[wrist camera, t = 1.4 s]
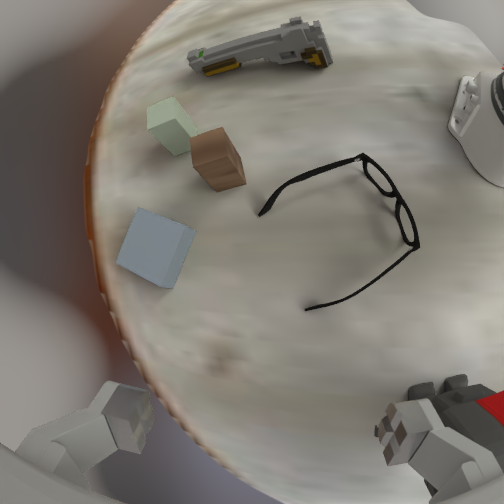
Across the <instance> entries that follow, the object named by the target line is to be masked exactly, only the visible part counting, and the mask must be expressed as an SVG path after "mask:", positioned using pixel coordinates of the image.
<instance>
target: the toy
mask: <svg viewBox="0 0 504 504" xmlns="http://www.w3.org/2000/svg"><path fill="white" fill-rule="evenodd" d="M313 23H314V25H313V26H309V24H308V22H306V23H303V21H302V19H301V17H295V18H291V19H290V23H287V24H282V25H281V28H277V29H273V30H269V31H265V32H261V33H257V34H254V35H250V36H246V37H243V38H240V39H236V40H233V41H230V42H227V43H224V44H221V45H218V46H215V47H212V48H209V49H206V48H205V47H204V48H201V49H199V50H197V49H196V50H193V51H190V52H189V53H188V56H187V59H188V60H189V61H190V62H189V65H190V66H191V67H192V69H193V70H194V71H195V72H196V73H198V72H202V73H203V74H205V75H206V76H211V75H214V74H217V73H221V72H225V71H228V70H232V69H235V68H239V67H241V64H242V62H246V61H250V60H254V59H260V58H264V59H265V60H271V62H278V64H279V65H280V64H285V63H291V62H296V61H302V60H304V61H305V63H310V65H311V66H314V65H316V66H317V68H324V67H328V63H333V60H332V55H331V52H330V49H329V46H328V44H327V41H326V38H325V35H324V33H323V32H322V27H321V25H320V22H319V20H318V21H313Z"/></svg>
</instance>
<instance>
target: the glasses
mask: <svg viewBox="0 0 504 504" xmlns="http://www.w3.org/2000/svg"><path fill="white" fill-rule="evenodd" d="M361 160H362V161H363V170H364V173H365V175H366V176H367V178H368V179H369V180H370V181H371V182H372V183H373V184H374V185H375V186H376V187H377V188H378V189H379V190H380V192H381V193H382V194H383V195H385V196H387V197H390V198H393V197H396V198H397V200H396V205H395V214H396V218H397V221H398V223H399V226H400V229H401V232H402V236H403V239H404V241H405V243H406V244H407V245H409V246H411V248H410V249H409V250H408V252H406V253H405V254H404V255H403V256H402V257H401V258H400V259H398V260H397V261H396V262H395V263H394V264H392V265H391V266H390V267H389V268H387V269H386V270H385V271H384V272H382V273H381V274H380V275H379V276H377V277H376V278H375V279H374V280H372V281H371V282H369V283H368V284H367V285H365V286H364V287H362V288H361V289H359V290H358V291H356V292H354V293H353V294H351V295H349V296H347V297H345V298H343V299H340V300H337V301H334V302H330V303H326V304H321V305H316V306H313V307H309V308H306V309H305V311H308V310H312V309H317V308H322V307H327V306H331V305H334V304H337V303H340V302H343V301H345V300H347V299H349V298H351V297H353V296H355V295H357V294H358V293H360V292H361V291H363V290H364V289H366V288H367V287H369V286H370V285H372V284H373V283H374V282H376V281H377V280H379V279H380V278H381V277H382V276H384V275H385V274H386V273H387V272H389V271H390V270H391V269H393V268H394V267H395V266H396V265H398V264H399V263H400V262H401V261H402V260H404V259H405V258H406V257H407V256H408V255H409V254H410V253H411V252H413V251H415V250H417V249H419V248H420V242H419V236H418V232H417V228H416V224H415V221H414V219H413V216H412V214H411V211H410V210H409V208H408V206H407V204H406V203H405V201H404V200H403V198H402V196H401V195H400V193H399V192H398V190H397V188H396V186H395V185H394V183H393V181H392V180H391V178H390V177H389V176H388V174H387V173H386V172H385V171H384V170H383V169H382V168H381V167H380V166H379V165H378V164H377V163H376V162H375V161H374V160H372V159H371V158H370V157H369V156H367V155H366V154H364V153H361V154H359V155H357V156H356V157H353V158H349V159H345V160H341V161H338V162H334V163H331V164H328V165H325V166H322V167H318V168H316V169H313V170H310V171H308V172H305V173H303V174H301V175H298V176H296V177H294V178H292V179H290V180H289V181H287V182H286V183H284V184H283V185H282V186H280V187H279V188H278V189H277V190H276V191H275V192H274V193H273V194H272V195H271V197H270V198H269V199H268V201H267V202H266V204H265V205H264V207H263V208H262V210H261V211H260V212H259V214H258V216H259V217H260V216H262V215H263V214H265V213H266V212H267V211H269V210H270V209H271V207H272V205H273V204H274V202H275V200H276V198H277V197H278V195H279V194H280V193H281V191H282V190H283V189H284V188H285V187H287V186H288V185H290V184H293V183H296V182H299V181H303V180H305V179H307V178H310V177H312V176H315V175H317V174H320V173H323V172H326V171H329V170H331V169H334V168H337V167H340V166H343V165H346V164H349V163H352V162H356V161H357V162H358V161H361ZM368 162H369V163H371V164H372V165H374V166H375V167H376V168H377V169H378V170H379V171H380V172H381V173H382V174H383V175H384V177H385V178H386V179H387V180H388V182H389V183H390V185H391V187H392V190H393V191H392V192H386V191H384V190H383V189H382V188H381V187H380V186H379V185H378V184H377V183H376V182H375V181H374V179H373V178H372V177H371V176H370V174H369V173H368V171H367V163H368ZM401 204H402V205H403V207H404V208H405V210H406V212H407V214H408V216H409V219H410V221H411V224H412V228H413V232H414V241H413V242H410V241H409V240H408V239H407V237H406V234H405V232H404V229H403V226H402V223H401V220H400V207H401Z"/></svg>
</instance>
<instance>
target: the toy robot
mask: <svg viewBox="0 0 504 504" xmlns="http://www.w3.org/2000/svg"><path fill="white" fill-rule="evenodd" d="M467 385H468V379H467V376H466V375H465V374H462V375H457V376H453V377H450V378H447V379H446V380H445V392H444V393H443V394H440V395H437V396H435V389H434V386H433V382H428V383H422V384H418V385H415V386H412V387H410V388H409V391H408V401H412V400H419V399H426V398H427V399H429V400H430V402H431V403H432V405H433V407H434V409H435V410H436V412H437V414H438V416H439V417H440V419H441V421H442V423H443V425H444V427H449V428H451V429H453V430H454V431H456V432H458V433H460V434H461V435H463V436H465V437H466V438H468V439H470V440H472V441H473V442H475V443H477V444H479V445H480V446H482V447H484V448H486V449H487V450H489V451H491V452H492V453H493V455H494V457H495V459H496V460H497V462H498V464H499V466H500V468H501V469H502V471H503V473H504V391H501V392H499V393H496V392H494V391H492V390H490V389H489V388H487V387H485V386H483V385H482V384H477V385H472V386H467ZM378 429H379V428H377V426H375V436H376V437H378ZM424 482H425V484H426V486H427V488H428V490H429V492H430V494H431V496H432V497H433V496H434V495H435V494H436V493H437V492H438V490H437V489H436V488H435V487H433V486H432V485H431V484H430V483H429V482H428V481H427V480H426V479H424Z"/></svg>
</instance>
